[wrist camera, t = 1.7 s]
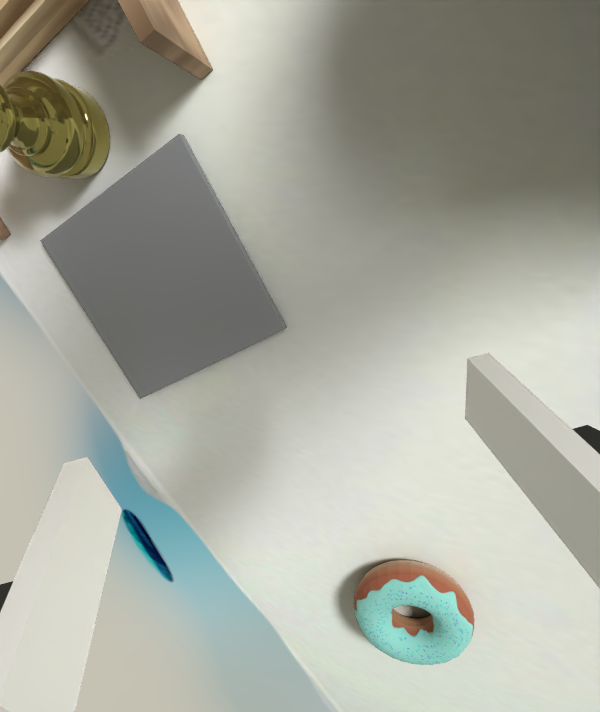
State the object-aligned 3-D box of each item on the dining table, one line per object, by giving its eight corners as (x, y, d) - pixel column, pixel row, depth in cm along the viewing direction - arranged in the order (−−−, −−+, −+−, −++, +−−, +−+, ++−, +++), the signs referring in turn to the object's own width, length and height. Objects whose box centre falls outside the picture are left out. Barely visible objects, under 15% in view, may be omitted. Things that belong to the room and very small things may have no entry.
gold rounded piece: (28, 143, 38) (-93, 124, 29) (58, 64, 35) (-67, 14, 26) (91, 197, 38) (-10, 194, 29) (126, 123, 35) (26, 94, 26)
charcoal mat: (286, 327, 38) (284, 329, 37) (144, 395, 44) (140, 398, 43) (183, 135, 34) (179, 134, 34) (47, 240, 41) (40, 240, 40)
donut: (497, 606, 42) (505, 644, 39) (413, 652, 47) (413, 689, 44) (410, 531, 42) (410, 563, 38) (334, 585, 47) (327, 617, 43)
